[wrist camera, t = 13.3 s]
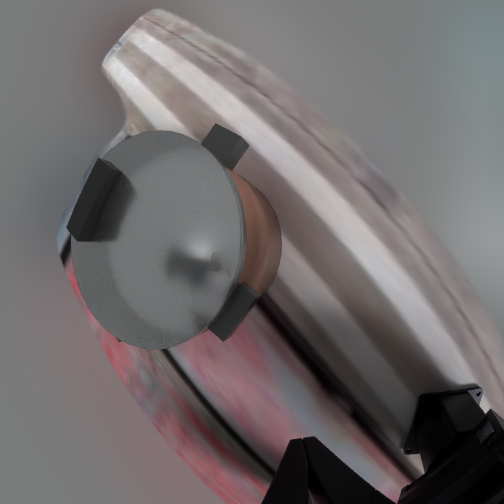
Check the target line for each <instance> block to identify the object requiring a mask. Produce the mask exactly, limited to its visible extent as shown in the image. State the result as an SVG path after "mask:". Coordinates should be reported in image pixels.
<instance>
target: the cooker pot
mask: <svg viewBox="0 0 504 504" xmlns="http://www.w3.org/2000/svg"><path fill="white" fill-rule="evenodd" d="M201 145H202V146H204V147H205V148H206V149H208V150H209V151H211V152H212V153H213V154H214V155H215V156H216V157H217V158H218V159H219V160H220V161H221V162H222V163H223V165H224V166H225V167H226V169H227V170H228V171H229V173H230V175H231V177H232V178H233V180H234V182H235V184H236V186H237V189H238V192H239V194H240V197H241V200H242V204H243V209H244V213H245V220H246V231H247V237H246V253H245V260H244V266H243V270H242V273H241V276H240V280H239V283H238V285H237V288H236V290H235V292H234V294H233V297H232V298H231V300H230V302H229V303H228V305H227V307H226V308H225V310H224V311H223V312H222V314H221V315H220V316H219V317H218V318H217V320H216V321H215V322H214V323H213V324H211V325H210V326H209V327H208V328H207V329H206V330H208V329H209V330H211V331H212V332H213V333H214V334H215V335H216V336H217V337H219V338H220V339H221V340H222V341H223V342H224V341H225V340H227V339H228V338H229V337H231V336H232V334H233V333H234V332H235V330H236V329H237V328H238V326H239V325H240V324H241V322H242V321H243V320H244V318H245V317H246V316H247V314H248V313H249V312H250V310H251V309H252V308H253V306H254V305H255V303H256V302H257V301H258V300H259V299H260V298H261V297H262V296H263V295H264V293H265V292H266V291H267V290H268V288H269V287H270V285H271V283H272V282H273V280H274V277H275V275H276V273H277V270H278V267H279V263H280V258H281V251H282V239H281V230H280V226H279V222H278V219H277V216H276V214H275V211H274V210H273V208H272V206H271V204H270V203H269V201H268V200H267V198H266V197H265V196H264V195H263V194H262V193H261V192H260V191H259V190H258V189H257V188H256V187H255V186H253V185H252V184H251V183H249V182H248V181H246V180H245V179H244V178H242V177H241V176H239V175H238V174H237V173H235V172H234V171H232V170H233V169H234V167H235V166H236V164H237V163H238V161H239V160H240V158H241V157H242V155H243V154H244V153H245V151H246V150H247V148H248V147H249V144H248V143H247V142H246V141H245V140H244V139H243V138H242V137H241V136H239V135H237V134H235V133H233V132H231V131H229V130H228V129H226V128H224V127H222V126H220V125H218V124H216V123H215V125H214V126H213V128H212V129H211V131H210V132H209V133H208V135H207V136H206V138H205V139H204V141H203V142H202V144H201ZM206 330H204V331H206ZM204 331H203V332H204ZM201 333H202V332H201ZM201 333H200V334H201ZM198 335H199V334H198ZM117 340H118V341H119V342H121V340H119V339H118V338H117Z"/></svg>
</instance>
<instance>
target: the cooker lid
mask: <svg viewBox="0 0 504 504" xmlns="http://www.w3.org/2000/svg"><path fill="white" fill-rule="evenodd" d="M66 228H67V229H68V230H69V232H70V233H71V234H72V235H71V251H72V261H73V268H74V272H75V277H76V280H77V283H78V286H79V289H80V292H81V294H82V296H83V299H84V301H85V303H86V304H87V306H88V308H89V310H90V311H91V313H92V314H93V315H94V317H95V318H96V319H97V321H98V322H99V323H100V324H101V325H102V326H103V327H104V328H105V329H106V330H107V331H108V332H110V333H111V334H112V335H113V336H115V337H116V338H118V339H119V340H121V341H123V342H125V343H127V344H129V345H132V346H135V347H139V348H143V349H152V350H153V349H165V348H170V347H174V346H177V345H179V344H181V343H184V342H186V341H188V340H190V339H191V338H193V337H195V336H197V335H198V334H200V333H201V332H203V331H204V330H206V329H207V328H208V327H209V326H210V325H211V324H213V323H214V322H215V321H216V320H217V318H218V317H219V316H220V315H221V314H222V312H223V311H224V310H225V308H226V307H227V305H228V303H229V302H230V300H231V298H232V297H233V294H234V292H235V290H236V288H237V285H238V283H239V280H240V276H241V273H242V270H243V266H244V260H245V253H246V237H247V231H246V220H245V213H244V209H243V204H242V200H241V197H240V194H239V192H238V189H237V186H236V184H235V182H234V180H233V178H232V177H231V175H230V173H229V171H228V170H227V169H226V167H225V166H224V165H223V163H222V162H221V161H220V160H219V159H218V158H217V157H216V156H215V155H214V154H213V153H212V152H211V151H209V150H208V149H206V148H205V147H204V146H202V145H201V144H199V143H198V142H196V141H195V140H194V139H192V138H189V137H187V136H185V135H183V134H180V133H176V132H172V131H162V130H159V131H149V132H144V133H140V134H137V135H135V136H133V137H130V138H128V139H126V140H125V141H123V142H121V143H119V144H118V145H117V146H116V147H114V148H113V149H112V150H110V151H109V152H108V153H107V154H106V155H105V156H104V157H103V158H102V159H101V158H98V159H97V161H96V163H95V165H94V167H93V169H92V171H91V173H90V175H89V177H88V179H87V181H86V183H85V185H84V187H83V189H82V192H81V194H80V196H79V199H78V201H77V203H76V205H75V208H74V210H73V212H72V215H71V217H70V220H69V222H68V225H67V227H66Z"/></svg>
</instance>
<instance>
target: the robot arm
mask: <svg viewBox="0 0 504 504" xmlns="http://www.w3.org/2000/svg"><path fill="white" fill-rule="evenodd" d="M477 392H479V393H478V394H477ZM482 395H483V389H482V388H481V387H475V388H469V389H462V390H455V391H447V392H438V393H428V394H422V395H421V396H420V397H419V398H418V402H417V406H416V410H415V413H414V417H413V421H412V424H411V428H410V431H409V434H408V437H407V440H406V443H405V446H404V453H405V454H406V455H410V454H420V456H421V460H422V463H423V467H424V471H425V474H423V475H422V476H421V477H419V478H418V479H417V480H415V481H414V482H413V483H411V484H410V485H407V486H405V487H404V488H402V490H401V493H400V497H399V500H398V504H504V419H503V418H501V417H500V416H499V415H498V414H497V413H496V412H494V411H493V410H492V409H490V410H489V411H488V412H487V413H486V414H485V413H484V411H483V410H482V409H481V407H480V406H479V404H480V401H481V398H482ZM423 399H426V400H425V401H423V402H422V400H423ZM408 449H410V450H408ZM308 492H309V495H310V498H311V502H312V504H396V503H395V502H393V501H392V500H390V499H389V498H387V497H386V496H385V495H383V494H382V493H381V492H379V491H378V490H376V489H375V488H374V487H373V486H371V485H370V484H369V483H368V482H366V481H365V480H364V479H363V478H362V477H360V476H359V475H358V474H357V473H355V472H354V471H353V470H352V469H351V468H350V467H348V466H347V465H346V464H345V463H344V462H343V461H341V460H340V459H339V458H338V457H337V456H336V455H335V454H334V453H332V452H331V451H330V450H329V449H328V448H327V447H326V446H325V445H324V444H322V443H321V442H320V441H319V440H318V439H317V438H316V437H314V436H312V437H305V438H303V440H302V439H301V438H298V439H291V440H290V441H289V444H288V446H287V448H286V451H285V453H284V456H283V458H282V460H281V462H280V465H279V467H278V469H277V472H276V474H275V476H274V478H273V480H272V482H271V485H270V487H269V489H268V491H267V493H266V495H265V497H264V499H263V501H262V503H261V504H308Z"/></svg>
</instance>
